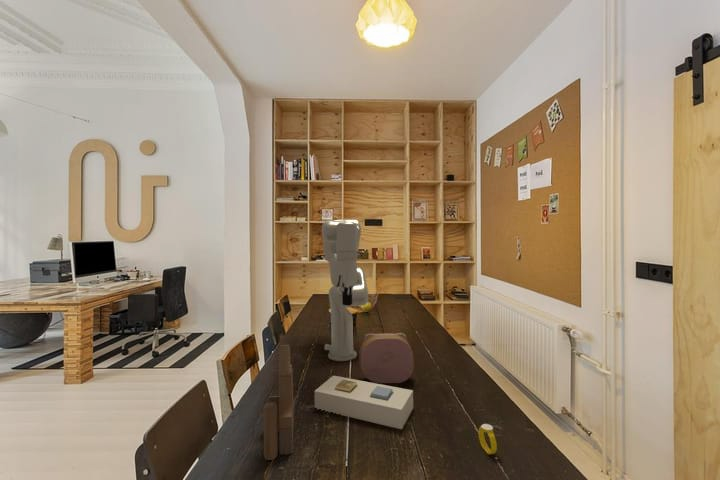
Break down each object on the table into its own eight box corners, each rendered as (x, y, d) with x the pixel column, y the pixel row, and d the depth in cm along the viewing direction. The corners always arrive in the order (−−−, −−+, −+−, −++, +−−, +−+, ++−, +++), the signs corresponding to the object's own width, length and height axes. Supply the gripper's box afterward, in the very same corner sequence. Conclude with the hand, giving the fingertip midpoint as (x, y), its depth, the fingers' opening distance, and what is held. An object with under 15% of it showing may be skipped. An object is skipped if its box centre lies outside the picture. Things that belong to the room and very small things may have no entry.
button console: (314, 408, 102) (314, 391, 101) (333, 391, 112) (333, 375, 112) (401, 429, 90) (401, 409, 90) (413, 408, 101) (412, 390, 101)
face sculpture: (411, 375, 124) (411, 331, 124) (415, 383, 117) (415, 337, 117) (359, 377, 124) (358, 333, 123) (359, 385, 117) (359, 339, 116)
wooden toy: (269, 425, 93) (268, 337, 93) (293, 422, 94) (292, 336, 94) (263, 462, 78) (261, 358, 77) (292, 458, 79) (290, 355, 79)
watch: (476, 445, 84) (475, 421, 84) (486, 443, 84) (485, 419, 84) (489, 459, 78) (488, 433, 78) (500, 457, 78) (498, 431, 78)
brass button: (335, 394, 102) (335, 386, 102) (342, 388, 107) (342, 379, 107) (349, 398, 100) (349, 389, 100) (356, 390, 105) (356, 382, 105)
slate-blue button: (371, 402, 97) (371, 393, 97) (377, 394, 102) (377, 386, 102) (387, 405, 95) (386, 396, 95) (392, 398, 100) (392, 388, 100)
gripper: (346, 253, 129) (347, 299, 130) (327, 257, 115) (328, 308, 116) (364, 254, 126) (364, 301, 127) (346, 258, 112) (347, 311, 113)
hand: (347, 304), depth 122 cm, fingers closed
